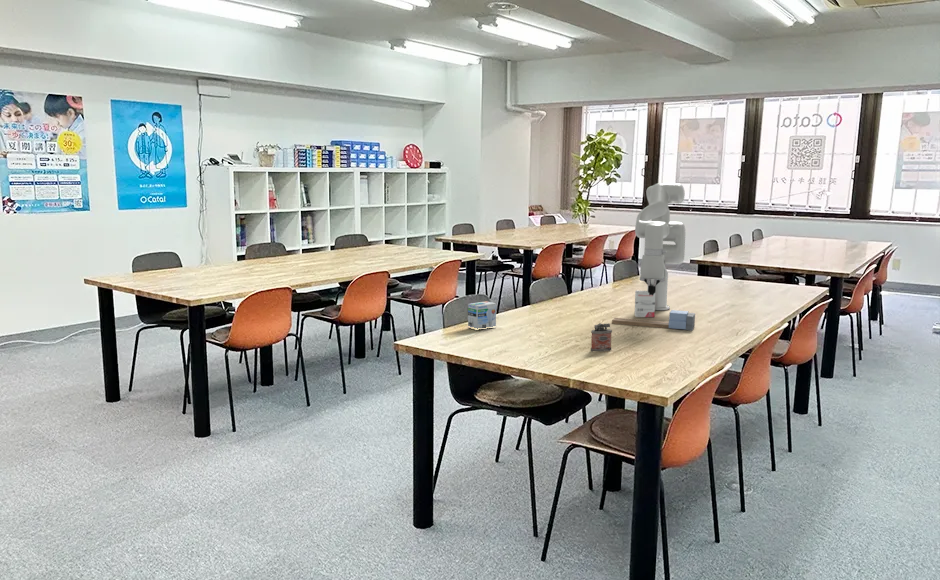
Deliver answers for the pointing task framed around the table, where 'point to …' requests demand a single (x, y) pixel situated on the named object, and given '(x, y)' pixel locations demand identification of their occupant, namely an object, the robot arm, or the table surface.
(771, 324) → the table surface
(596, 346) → the lighter
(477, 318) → the light bulb box
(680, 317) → the block
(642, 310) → the ink box
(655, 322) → the rail
